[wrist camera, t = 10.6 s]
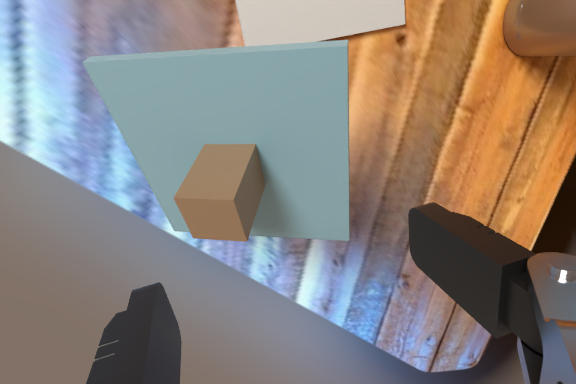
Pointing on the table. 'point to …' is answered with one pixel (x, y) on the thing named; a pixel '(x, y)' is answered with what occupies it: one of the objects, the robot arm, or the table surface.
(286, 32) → the mat
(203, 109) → the cover sheet
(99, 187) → the table surface
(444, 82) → the table surface
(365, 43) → the table surface
